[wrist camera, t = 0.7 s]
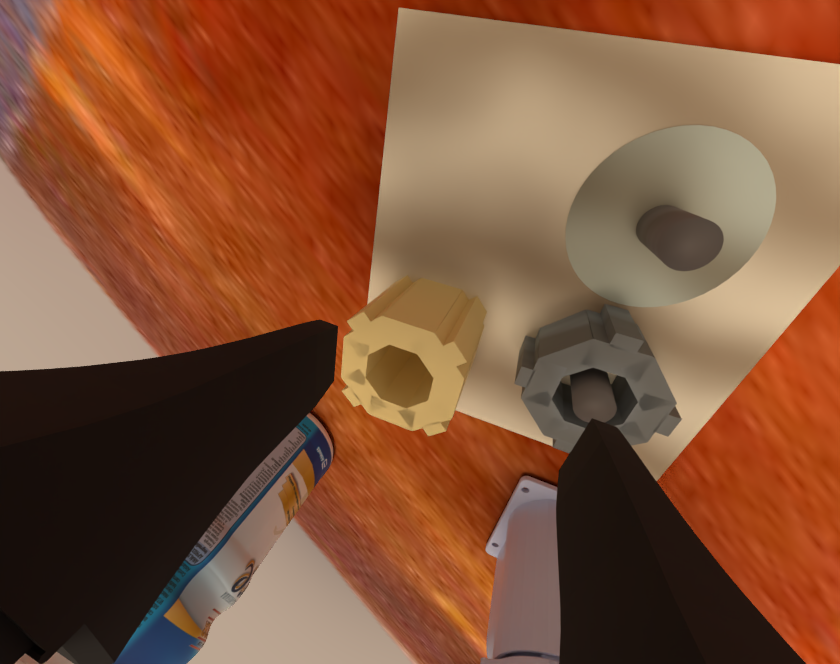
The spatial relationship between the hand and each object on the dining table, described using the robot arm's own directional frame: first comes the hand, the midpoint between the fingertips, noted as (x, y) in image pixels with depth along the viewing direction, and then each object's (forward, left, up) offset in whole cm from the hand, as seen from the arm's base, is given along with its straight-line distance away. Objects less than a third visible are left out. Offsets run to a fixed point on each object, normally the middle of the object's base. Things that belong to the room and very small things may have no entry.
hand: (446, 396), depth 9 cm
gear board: (+1, -2, -10) cm, 10 cm away
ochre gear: (-3, +3, -9) cm, 10 cm away
